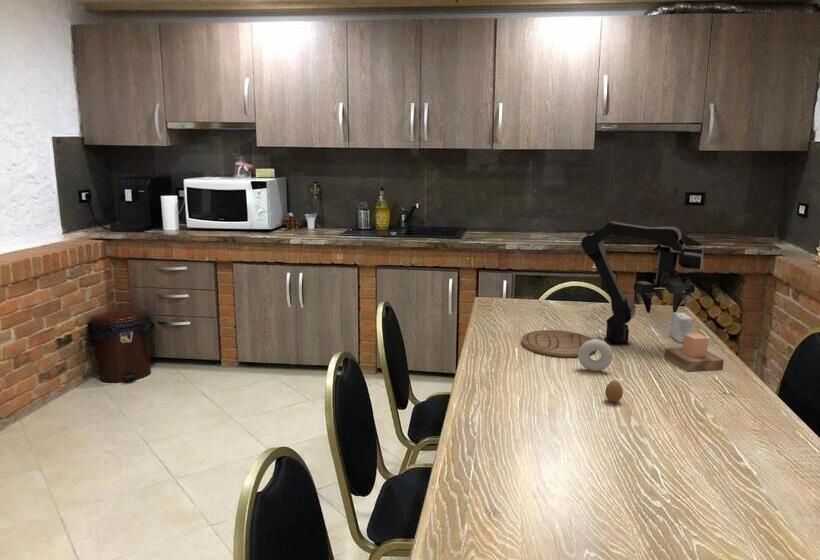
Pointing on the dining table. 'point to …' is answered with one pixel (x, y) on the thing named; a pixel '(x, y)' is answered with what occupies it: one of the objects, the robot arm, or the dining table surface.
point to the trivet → (555, 343)
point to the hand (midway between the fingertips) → (661, 312)
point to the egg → (614, 391)
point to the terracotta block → (695, 345)
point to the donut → (592, 346)
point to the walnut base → (693, 360)
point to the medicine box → (680, 326)
